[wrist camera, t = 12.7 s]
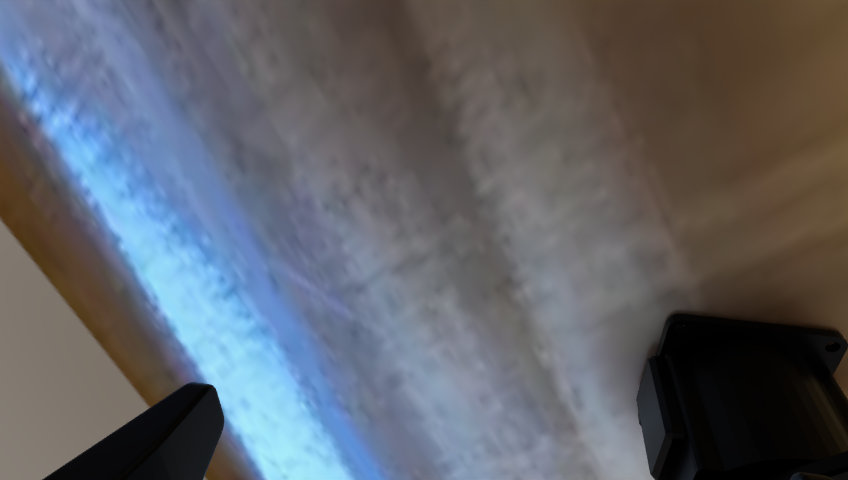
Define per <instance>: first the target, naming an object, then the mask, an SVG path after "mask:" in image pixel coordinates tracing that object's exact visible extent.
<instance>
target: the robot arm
mask: <svg viewBox="0 0 848 480" xmlns="http://www.w3.org/2000/svg"><path fill="white" fill-rule="evenodd" d="M679 325H685V326H684V327H682V328H676V327H677V326H679ZM831 342H834V343H833V344H831V345H827V344H829V343H831ZM847 348H848V343H847V341H846V340H845V338H844V337H843V335H842V334H841V333H839V332H837V331H833V330H825V329H815V328H806V327H797V326H788V325H779V324H770V323H761V322H752V321H743V320H733V319H724V318H715V317H706V316H697V315H688V314H676V315H673V316H671V317H670V318H668V320H667V321H666V324H665V327H664V331H663V334H662V337H661V340H660V344H659V347H658V350H657V354H656V356H652V357H651V358H650V359H648V361H647V364H646V368H645V371H644V374H643V378H642V381H641V385H640V388H639V391H638V395H637V399H636V400H637V405H638V411H639V413H638V418H639V424H640V425H641V427H642V432H643V437H644V443H645V448H646V453H647V459H648V464H649V469H650V474H651V476H652V477H653V478H654V479H655V480H848V400H847V398H846V396H845V395H844V393H843V391H842V390H841V388H840V386H839V385H838V383H837V382H836V380H835V378H834V377H833V374H834V372H835V370H836V368H837V366H838V365H839V363H840V361H841V359H842V357H843V356H844V354H845V352H846V350H847ZM223 427H224V415H223V411H222V408H221V404H220V401H219V397H218V394H217V391H216V388H215V387H214V386H213V385H210V384H204V383H197V382H191V383H188V384H186V385H184V386H182V387H181V388H179V389H178V390H176V391H175V392H173V393H172V394H170V395H169V396H167V397H166V398H164V399H163V400H161V401H160V402H158V403H157V404H155V405H154V406H152V407H151V408H149V409H148V410H146V411H145V412H143V413H142V414H140V415H139V416H137V417H136V418H134V419H133V420H131V421H130V422H128V423H127V424H125V425H124V426H122V427H121V428H119V429H118V430H116V431H115V432H113V433H112V434H110V435H109V436H107V437H106V438H104V439H103V440H101V441H100V442H98V443H97V444H95V445H94V446H92V447H91V448H89V449H88V450H86V451H85V452H83V453H81V454H80V455H78V456H77V457H76V458H74V459H72V460H71V461H69V462H68V463H66V464H65V465H63V466H62V467H60V468H59V469H57V470H56V471H55V472H53V473H51V474H50V475H48V476H47V477H45V478H44V479H42V480H203V479H204V476H205V474H206V471H207V469H208V466H209V464H210V461H211V458H212V456H213V453H214V451H215V448H216V446H217V443H218V441H219V438H220V436H221V433H222V430H223Z"/></svg>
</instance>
